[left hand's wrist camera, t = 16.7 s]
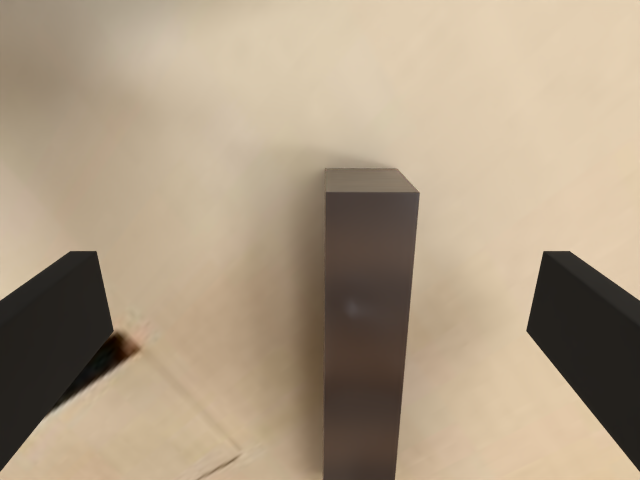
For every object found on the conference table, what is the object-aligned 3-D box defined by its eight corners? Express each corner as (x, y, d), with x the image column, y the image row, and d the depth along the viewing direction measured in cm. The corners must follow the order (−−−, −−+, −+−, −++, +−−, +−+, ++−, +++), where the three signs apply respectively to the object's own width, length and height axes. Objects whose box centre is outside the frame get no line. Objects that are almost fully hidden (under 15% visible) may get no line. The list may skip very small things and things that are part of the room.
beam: (325, 168, 29) (325, 191, 22) (397, 168, 29) (420, 192, 22) (322, 473, 38) (322, 553, 32) (377, 473, 38) (388, 553, 32)
